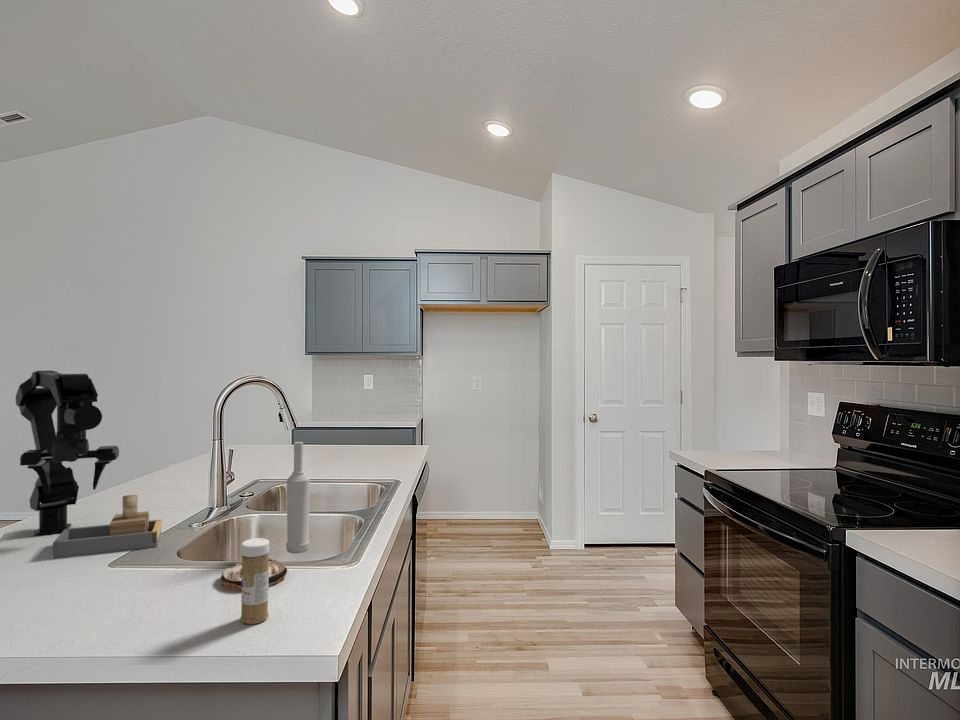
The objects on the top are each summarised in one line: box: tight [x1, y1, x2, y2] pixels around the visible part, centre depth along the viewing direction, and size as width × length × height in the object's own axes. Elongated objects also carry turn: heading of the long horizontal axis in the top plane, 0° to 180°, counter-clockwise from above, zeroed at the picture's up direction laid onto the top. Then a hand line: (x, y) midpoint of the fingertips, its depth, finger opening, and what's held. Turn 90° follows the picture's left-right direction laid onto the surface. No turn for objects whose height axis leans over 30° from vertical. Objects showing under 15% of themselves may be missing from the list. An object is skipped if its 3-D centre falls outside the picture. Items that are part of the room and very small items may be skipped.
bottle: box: [285, 441, 311, 554], centre depth 134 cm, size 5×5×25 cm
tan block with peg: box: [109, 494, 150, 536], centre depth 138 cm, size 8×7×10 cm
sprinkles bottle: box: [240, 537, 270, 625], centre depth 99 cm, size 5×5×14 cm
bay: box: [52, 519, 162, 559], centre depth 136 cm, size 11×20×4 cm, turn 114°
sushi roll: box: [220, 558, 288, 591], centre depth 117 cm, size 15×15×4 cm
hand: (71, 491), depth 139 cm, fingers open, 9 cm apart
